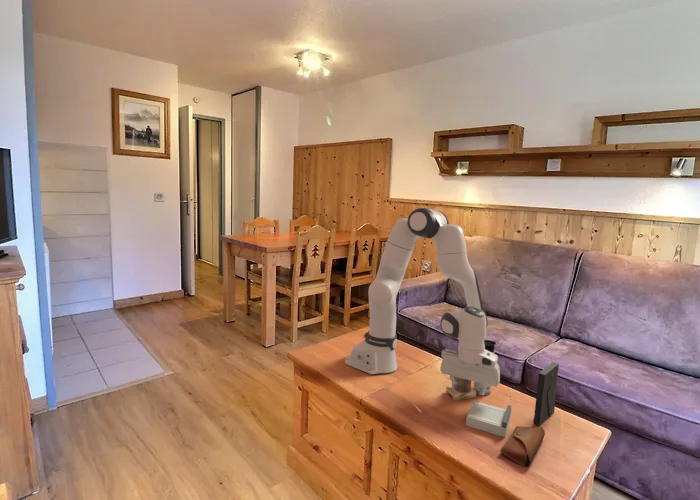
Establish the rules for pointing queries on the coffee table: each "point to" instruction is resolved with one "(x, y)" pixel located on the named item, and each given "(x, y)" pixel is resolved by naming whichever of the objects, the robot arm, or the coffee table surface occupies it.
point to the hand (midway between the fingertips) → (468, 390)
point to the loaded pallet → (456, 394)
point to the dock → (489, 418)
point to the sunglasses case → (523, 444)
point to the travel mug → (490, 347)
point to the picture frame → (546, 393)
